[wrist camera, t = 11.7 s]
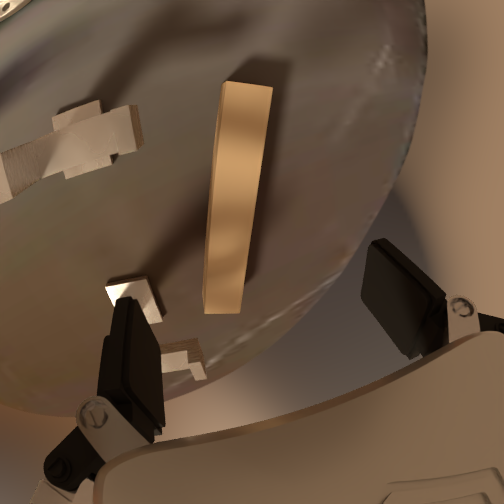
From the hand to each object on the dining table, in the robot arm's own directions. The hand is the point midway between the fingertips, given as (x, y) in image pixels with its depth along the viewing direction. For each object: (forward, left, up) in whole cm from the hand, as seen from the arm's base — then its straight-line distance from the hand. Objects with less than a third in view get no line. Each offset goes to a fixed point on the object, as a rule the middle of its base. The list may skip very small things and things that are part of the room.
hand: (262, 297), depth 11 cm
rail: (+1, 0, -13) cm, 13 cm away
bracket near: (-7, -8, -13) cm, 16 cm away
